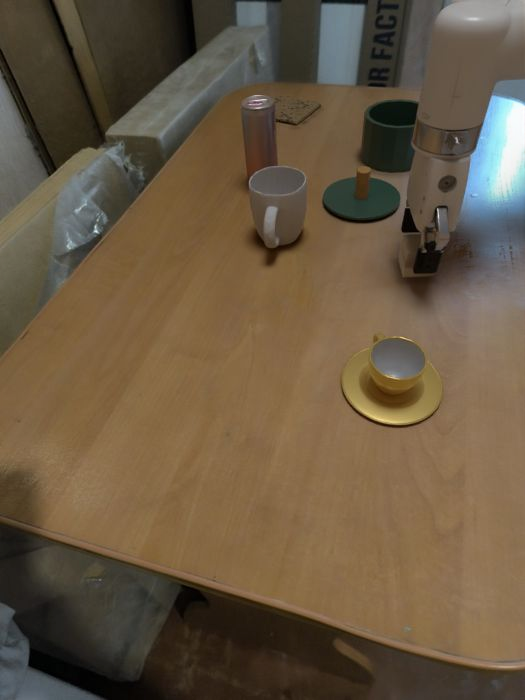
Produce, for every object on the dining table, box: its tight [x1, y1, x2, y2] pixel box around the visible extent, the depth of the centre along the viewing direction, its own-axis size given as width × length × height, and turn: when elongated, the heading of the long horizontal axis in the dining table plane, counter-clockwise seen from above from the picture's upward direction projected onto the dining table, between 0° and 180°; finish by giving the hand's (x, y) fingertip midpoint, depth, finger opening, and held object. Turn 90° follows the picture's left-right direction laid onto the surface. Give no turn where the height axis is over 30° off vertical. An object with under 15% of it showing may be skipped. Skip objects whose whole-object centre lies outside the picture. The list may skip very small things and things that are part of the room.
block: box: [397, 233, 435, 278], centre depth 68 cm, size 4×4×4 cm
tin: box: [360, 99, 419, 173], centre depth 89 cm, size 13×13×8 cm
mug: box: [248, 165, 308, 249], centre depth 72 cm, size 13×9×10 cm
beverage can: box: [240, 94, 279, 184], centre depth 83 cm, size 6×6×15 cm
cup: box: [340, 333, 444, 426], centre depth 53 cm, size 12×12×5 cm
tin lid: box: [322, 165, 401, 221], centre depth 80 cm, size 14×14×6 cm
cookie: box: [273, 95, 322, 126], centre depth 109 cm, size 12×12×1 cm
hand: (417, 251), depth 67 cm, fingers open, 9 cm apart
